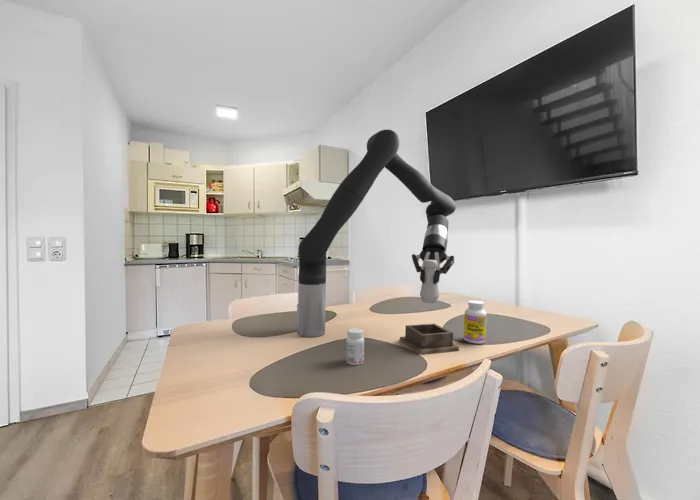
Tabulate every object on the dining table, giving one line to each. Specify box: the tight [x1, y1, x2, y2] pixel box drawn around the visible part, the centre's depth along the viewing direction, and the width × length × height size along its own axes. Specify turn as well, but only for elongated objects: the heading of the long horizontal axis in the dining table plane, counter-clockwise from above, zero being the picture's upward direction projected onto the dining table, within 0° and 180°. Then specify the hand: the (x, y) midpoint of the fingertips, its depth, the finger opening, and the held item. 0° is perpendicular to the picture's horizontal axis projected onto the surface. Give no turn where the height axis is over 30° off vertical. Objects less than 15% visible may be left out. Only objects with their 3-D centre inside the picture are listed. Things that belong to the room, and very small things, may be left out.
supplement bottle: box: [463, 300, 488, 345], centre depth 103 cm, size 7×7×13 cm
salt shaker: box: [419, 260, 440, 304], centre depth 98 cm, size 6×6×13 cm
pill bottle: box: [345, 327, 365, 366], centre depth 84 cm, size 5×5×8 cm
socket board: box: [399, 323, 460, 355], centre depth 98 cm, size 13×13×5 cm
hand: (429, 281), depth 96 cm, fingers closed on salt shaker, 3 cm apart
